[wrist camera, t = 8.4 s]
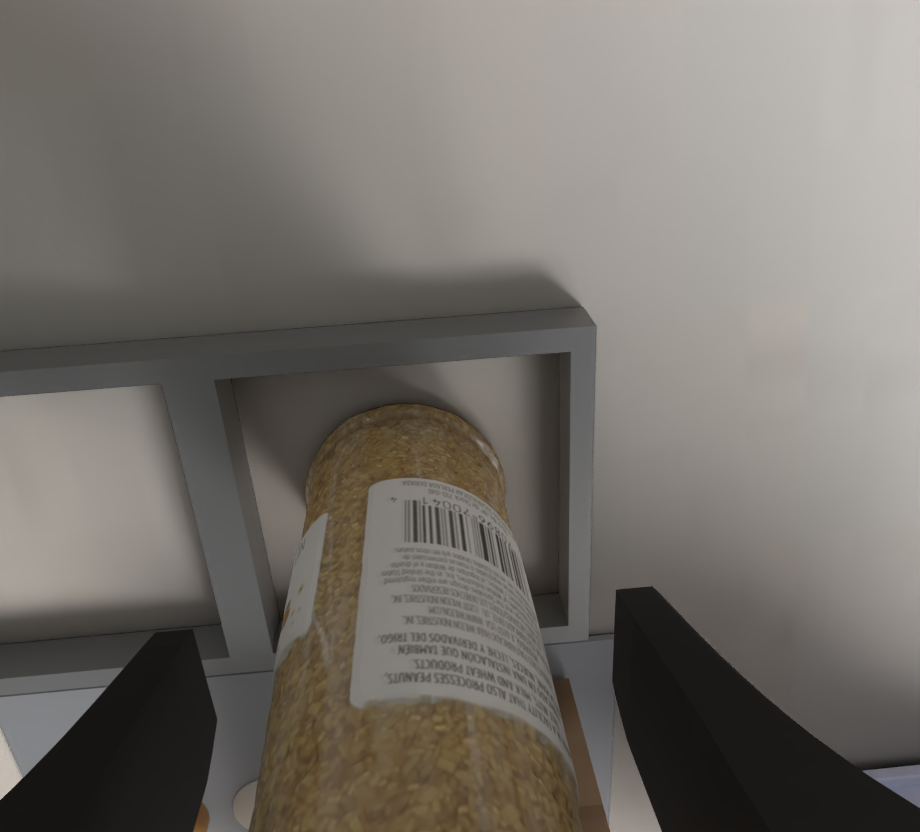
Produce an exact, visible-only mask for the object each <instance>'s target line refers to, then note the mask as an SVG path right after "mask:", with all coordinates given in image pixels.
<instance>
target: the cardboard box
mask: <svg viewBox="0 0 920 832" xmlns="http://www.w3.org/2000/svg"><path fill="white" fill-rule="evenodd" d="M553 684H554V689H555V693H556V697H557V701H558V705H559V709H560V713H561V717H562V721H563V725H564V730H565V734H566V738H567V742H568V746H569V750H570V754H571V758H572V762H573V766H574V770H575V774H576V779H577V783H578V791H579V812H580V819H581V823H582V825H583V828H584V832H610V829H609V825H608V822H607V818H606V814H605V811H604V807H603V803H602V799H601V796H600V792H599V788H598V785H597V781H596V777H595V773H594V770H593V766H592V762H591V759H590V755H589V751H588V747H587V744H586V740H585V736H584V733H583V729H582V725H581V721H580V718H579V714H578V710H577V707H576V703H575V699H574V695H573V692H572V688H571V684H570V681H569V678H565V679H555V680H553Z"/></svg>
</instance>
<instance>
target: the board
mask: <svg viewBox="0 0 920 832" xmlns="http://www.w3.org/2000/svg"><path fill="white" fill-rule="evenodd" d="M544 648H545V652H546V656H547V660H548V664H549V668H550V672H551V676H552V680H555V679H565V678H569V681H570V684H571V688H572V692H573V695H574V699H575V703H576V707H577V710H578V714H579V718H580V721H581V725H582V729H583V733H584V736H585V740H586V744H587V747H588V751H589V755H590V759H591V762H592V766H593V770H594V773H595V777H596V781H597V785H598V788H599V792H600V796H601V799H602V803H603V807H604V811H605V814H606V818H607V822H608V825H609V811H610V789H611V768H612V746H613V724H614V703H615V691H614V687H613V683H612V672H613V649H614V634H606V635H595V636H589V640H583V641H572V642H562V643H551V644H544ZM273 671H274V670H266V671H255V672H244V673H234V674H223V675H213V676H206V679H207V683H208V687H209V690H210V694H211V698H212V701H213V705H214V709H215V712H216V716H217V726H216V733H215V739H214V746H213V753H212V758H211V764H210V770H209V776H208V781H207V785H206V789H205V792H204V796H203V799H202V803H201V806H200V810H199V814H198V817H197V821H196V824H195V828H194V831H193V832H248V831H249V826H250V822H251V817H252V813H253V810H254V806H255V796H256V789H257V783H258V779H259V774H260V769H261V759H262V754H263V749H264V742H265V733H266V726H267V720H268V715H269V711H270V707H271V701H272V692H273ZM108 686H109V685H107V686H96V687H86V688H75V689H65V690H54V691H44V692H33V693H22V694H12V695H1V696H0V726H1V729H2V731H3V733H4V735H5V738H6V740H7V742H8V744H9V747H10V749H11V751H12V753H13V755H14V758H15V760H16V762H17V764H18V767H19V769H20V771H21V773H22V776H23V777H24V776H25V775H26V774H27V773H28V772H29V771H30V770H31V769H32V768H33V767H34V766H35V765H36V764H37V763H38V762H39V761H40V760H41V759H42V758H43V757H44V756H45V755H46V754H47V753H48V752H49V751H50V750H51V749H52V748H53V747H54V746H55V745H56V744H57V742H58V741H59V740H60V739H61V738H62V737H63V736H64V735H65V734H66V733H67V732H68V731H69V729H70V728H71V727H72V726H73V725H74V724H75V723H76V722H77V721H78V719H79V718H80V717H81V716H82V715H83V714H84V713H85V712H86V711H87V709H88V708H89V707H90V706H91V705H92V704H93V703H94V702H95V701H96V699H97V698H98V697H99V696H100V695H101V694H102V693H103V691H104V690H105V689H106V688H107V687H108Z"/></svg>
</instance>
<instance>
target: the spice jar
mask: <svg viewBox="0 0 920 832" xmlns="http://www.w3.org/2000/svg"><path fill="white" fill-rule="evenodd" d="M504 496H505V482H504V476H503V470H502V467H501V465H500V462H499V459H498V457H497V455H496V453H495V452H494V450H493V448H492V446H491V444H490V443H489V442H488V441H487V440H486V439H485V438H484V437H483V436H482V435H481V434H480V433H479V432H478V431H477V430H476V429H475V428H474V427H473V426H471V425H470V424H468V423H466V422H464V421H463V420H462V419H461V418H460V417H458V416H456V415H453V414H451V413H449V412H446V411H443V410H440V409H437V408H433V407H431V406H426V405H420V404H397V405H390V406H383V407H380V408H378V409H373V410H369V411H366V412H364V413H361V414H358V415H355V416H353V417H351V418H349V419H348V420H346V421H345V422H344V423H343V424H342V425H340V426H339V427H338V428H337V429H336V430H335V431H334V432H333V433H332V434H331V435H330V436H329V437H328V438H327V439H326V440H325V442H324V443H323V444H322V446H321V449H320V451H319V452H318V453H317V454H316V456H315V458H314V460H313V462H312V464H311V466H310V468H309V471H308V474H307V479H306V498H305V499H306V508H307V513H306V519H305V523H304V529H303V534H302V540H301V542H300V545H299V547H298V550H297V552H296V555H295V559H294V564H293V568H292V574H291V579H290V585H289V591H288V596H287V601H286V606H285V611H284V616H283V623H282V630H281V634H280V638H279V642H278V647H277V653H276V659H275V665H274V671H273V692H272V701H271V707H270V711H269V715H268V720H267V726H266V733H265V742H264V749H263V754H262V759H261V769H260V774H259V779H258V783H257V789H256V796H255V806H254V810H253V813H252V817H251V822H250V826H249V831H248V832H584V828H583V825H582V823H581V819H580V812H579V791H578V783H577V779H576V774H575V770H574V766H573V762H572V758H571V754H570V750H569V746H568V742H567V738H566V734H565V730H564V725H563V721H562V717H561V713H560V709H559V705H558V701H557V697H556V693H555V689H554V684H553V680H552V676H551V672H550V668H549V664H548V660H547V656H546V652H545V648H544V644H543V640H542V636H541V632H540V628H539V624H538V620H537V616H536V612H535V608H534V604H533V600H532V597H531V593H530V589H529V585H528V581H527V577H526V573H525V570H524V566H523V562H522V558H521V554H520V551H519V548H518V546H517V543H516V541H515V538H514V536H513V535H512V533H511V530H510V525H509V521H508V516H507V511H506V508H505V506H504V504H503V502H504Z"/></svg>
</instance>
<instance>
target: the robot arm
mask: <svg viewBox="0 0 920 832" xmlns="http://www.w3.org/2000/svg"><path fill="white" fill-rule="evenodd" d="M612 683H613V687H614V691H615V695H616V699H617V703H618V707H619V711H620V715H621V719H622V723H623V726H624V730H625V734H626V738H627V741H628V743H629V746H630V749H631V752H632V754H633V757H634V760H635V762H636V765H637V767H638V770H639V773H640V775H641V778H642V781H643V783H644V786H645V788H646V791H647V794H648V796H649V799H650V801H651V804H652V807H653V809H654V812H655V814H656V817H657V820H658V822H659V825H660V827H661V830H662V832H920V765H911V766H901V767H892V768H882V769H872V770H863V771H861V770H860V769H858V768H857V767H856V766H854V765H853V764H851V763H850V762H848V761H847V760H845V759H844V758H843V757H841V756H840V755H839V754H837V753H836V752H834V751H833V750H832V749H830V748H829V747H828V746H826V745H825V744H824V743H822V742H821V741H819V740H818V739H817V738H815V737H814V736H813V735H811V734H810V733H809V732H807V731H806V730H805V729H804V728H802V727H801V726H800V725H799V724H797V723H796V722H795V721H794V720H792V719H791V718H790V717H789V716H787V715H786V714H785V713H784V712H783V711H782V710H780V709H779V708H778V707H777V706H776V705H775V704H773V703H772V702H771V701H770V700H769V699H767V698H766V697H765V696H764V695H763V694H762V693H761V692H759V691H758V690H757V689H756V688H755V687H754V686H753V685H752V684H750V683H749V682H748V681H747V680H746V679H745V678H744V677H743V676H742V675H741V674H740V673H739V672H737V671H736V670H735V669H734V668H733V667H732V666H731V665H730V664H729V663H728V662H727V661H726V660H725V659H724V658H723V657H722V656H720V655H719V654H718V653H717V652H716V651H715V650H714V649H713V648H712V647H711V646H710V645H709V644H708V643H707V642H706V641H705V640H704V639H703V638H702V637H701V636H700V635H699V634H698V633H697V632H696V631H695V630H694V629H693V628H692V627H691V626H690V625H689V624H688V623H687V622H686V621H685V619H684V618H683V617H682V616H681V615H680V614H679V613H678V612H677V611H676V610H675V609H674V608H673V607H672V606H671V605H670V604H669V603H668V602H667V601H666V600H665V598H664V597H663V596H662V595H661V594H660V593H659V592H658V591H657V590H656V589H654V588H653V587H641V588H630V589H619V590H616V602H615V626H614V649H613V672H612ZM216 726H217V716H216V712H215V709H214V705H213V701H212V698H211V694H210V690H209V687H208V683H207V679H206V676H205V672H204V668H203V665H202V661H201V657H200V654H199V650H198V646H197V643H196V639H195V635H194V632H193V629H187V630H176V631H165V632H155V633H154V634H153V636H152V637H151V638H150V639H149V640H148V641H147V642H146V643H145V644H144V646H143V647H142V648H141V649H140V650H139V651H138V652H137V653H136V655H135V656H134V657H133V658H132V659H131V660H130V661H129V663H128V664H127V665H126V666H125V667H124V668H123V670H122V671H121V672H120V673H119V674H118V675H117V676H116V678H115V679H114V680H113V681H112V682H111V683H110V685H109V686H108V687H107V688H106V689H105V690H104V691H103V693H102V694H101V695H100V696H99V697H98V698H97V699H96V701H95V702H94V703H93V704H92V705H91V706H90V707H89V708H88V709H87V711H86V712H85V713H84V714H83V715H82V716H81V717H80V718H79V719H78V721H77V722H76V723H75V724H74V725H73V726H72V727H71V728H70V729H69V731H68V732H67V733H66V734H65V735H64V736H63V737H62V738H61V739H60V740H59V741H58V742H57V744H56V745H55V746H54V747H53V748H52V749H51V750H50V751H49V752H48V753H47V754H46V755H45V756H44V757H43V758H42V759H41V760H40V761H39V762H38V763H37V764H36V765H35V766H34V767H33V768H32V769H31V770H30V771H29V772H28V773H27V774H26V775H25V776H24V777H23V778H22V779H21V780H20V782H19V783H18V784H17V785H16V786H15V787H14V788H13V789H11V790H10V791H9V792H8V793H7V794H6V795H5V796H4V797H3V798H2V799H1V800H0V832H193V831H194V828H195V824H196V821H197V817H198V814H199V810H200V806H201V803H202V799H203V796H204V792H205V789H206V785H207V781H208V776H209V770H210V764H211V758H212V753H213V746H214V739H215V733H216Z"/></svg>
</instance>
